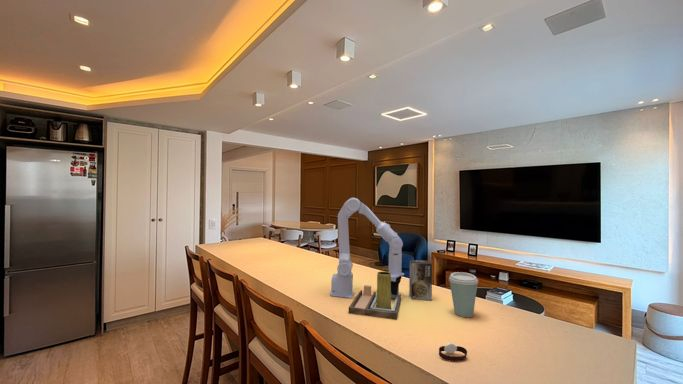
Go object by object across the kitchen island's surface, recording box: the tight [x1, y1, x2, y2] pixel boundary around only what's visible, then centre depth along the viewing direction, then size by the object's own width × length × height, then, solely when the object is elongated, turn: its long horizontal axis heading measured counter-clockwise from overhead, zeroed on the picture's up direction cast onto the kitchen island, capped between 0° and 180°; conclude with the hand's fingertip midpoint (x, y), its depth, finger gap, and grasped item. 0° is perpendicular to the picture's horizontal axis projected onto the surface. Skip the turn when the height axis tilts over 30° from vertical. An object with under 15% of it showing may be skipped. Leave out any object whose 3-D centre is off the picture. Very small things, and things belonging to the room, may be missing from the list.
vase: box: [375, 270, 392, 310], centre depth 112 cm, size 6×6×14 cm
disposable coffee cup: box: [448, 271, 479, 318], centre depth 109 cm, size 11×11×15 cm
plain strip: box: [355, 284, 373, 309], centre depth 117 cm, size 5×20×5 cm, turn 164°
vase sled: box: [370, 286, 400, 313], centre depth 118 cm, size 9×20×6 cm, turn 164°
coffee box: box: [408, 259, 433, 301], centre depth 127 cm, size 9×6×16 cm
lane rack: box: [348, 289, 402, 321], centre depth 115 cm, size 18×22×2 cm
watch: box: [438, 342, 468, 362], centre depth 79 cm, size 8×5×4 cm, turn 92°
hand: (394, 293), depth 126 cm, fingers open, 3 cm apart
